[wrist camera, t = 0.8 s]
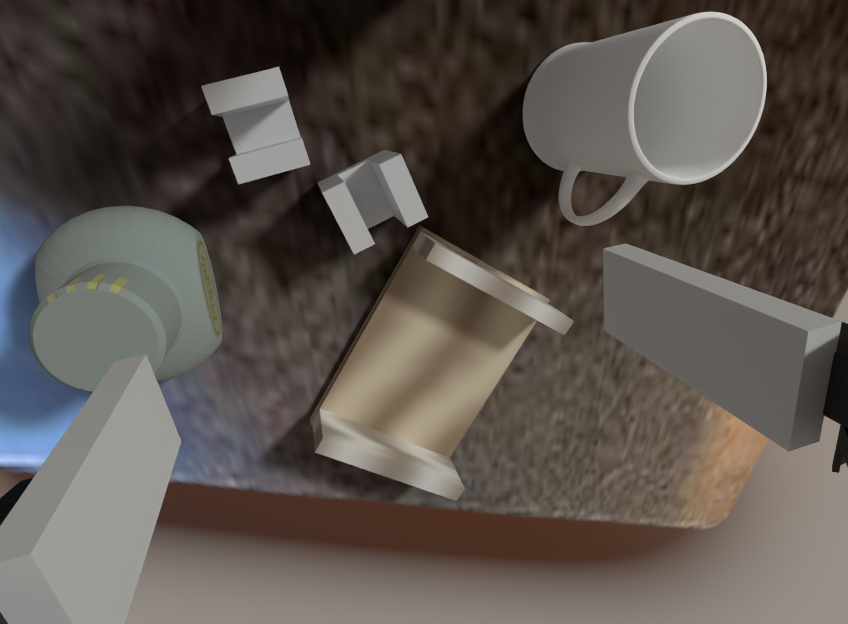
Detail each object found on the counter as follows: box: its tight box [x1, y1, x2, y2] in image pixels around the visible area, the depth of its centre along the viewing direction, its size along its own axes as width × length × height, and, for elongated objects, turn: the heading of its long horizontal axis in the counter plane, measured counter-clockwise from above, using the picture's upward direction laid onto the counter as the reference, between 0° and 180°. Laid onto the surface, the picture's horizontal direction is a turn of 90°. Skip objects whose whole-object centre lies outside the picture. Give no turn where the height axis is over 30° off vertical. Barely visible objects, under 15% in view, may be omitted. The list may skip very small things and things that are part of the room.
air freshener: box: [29, 206, 222, 393], centre depth 29 cm, size 11×8×10 cm
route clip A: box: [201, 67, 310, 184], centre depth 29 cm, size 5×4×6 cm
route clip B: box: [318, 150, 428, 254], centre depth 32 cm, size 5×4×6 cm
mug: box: [523, 12, 767, 226], centre depth 31 cm, size 12×8×12 cm
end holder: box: [310, 225, 574, 501], centre depth 38 cm, size 12×17×5 cm
